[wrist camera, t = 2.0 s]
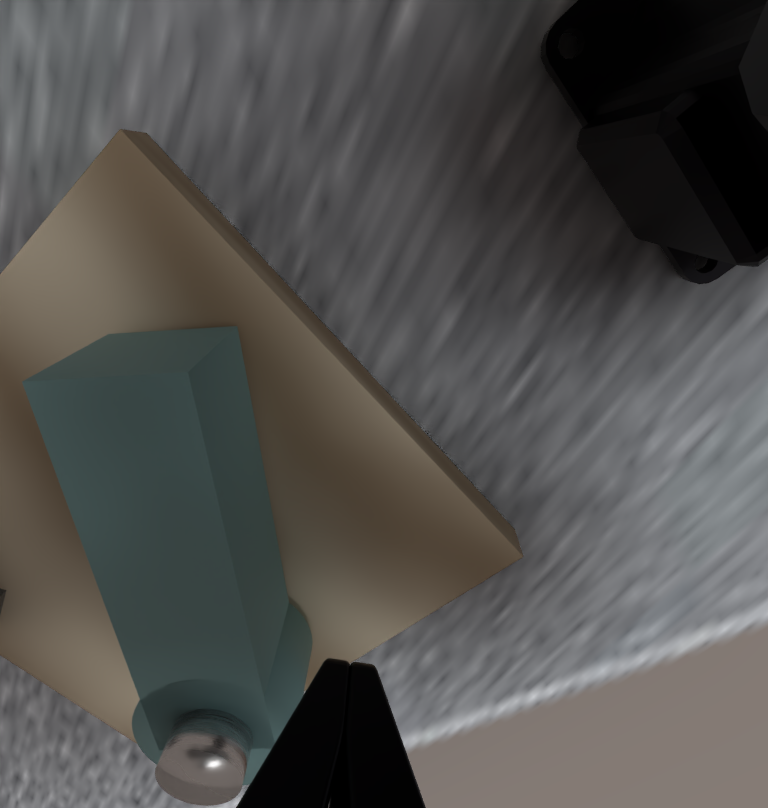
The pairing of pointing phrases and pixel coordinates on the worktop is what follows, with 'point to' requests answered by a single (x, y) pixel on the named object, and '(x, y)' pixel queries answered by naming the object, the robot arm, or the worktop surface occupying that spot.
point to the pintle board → (275, 422)
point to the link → (180, 546)
